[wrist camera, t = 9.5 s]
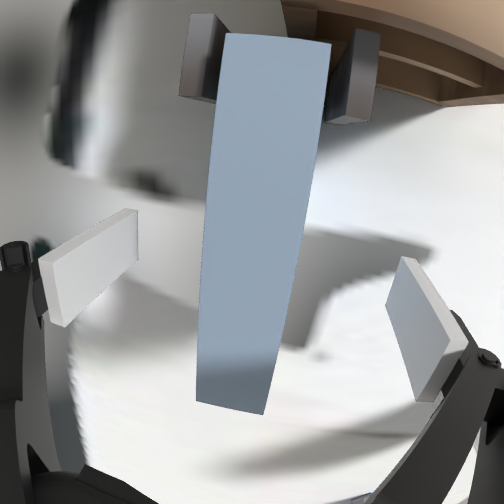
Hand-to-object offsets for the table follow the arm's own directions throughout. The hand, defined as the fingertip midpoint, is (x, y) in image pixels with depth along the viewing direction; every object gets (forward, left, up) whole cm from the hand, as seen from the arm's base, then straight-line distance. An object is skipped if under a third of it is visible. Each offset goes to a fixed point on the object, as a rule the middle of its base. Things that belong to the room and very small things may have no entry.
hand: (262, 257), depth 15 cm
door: (-2, 0, -6) cm, 7 cm away
